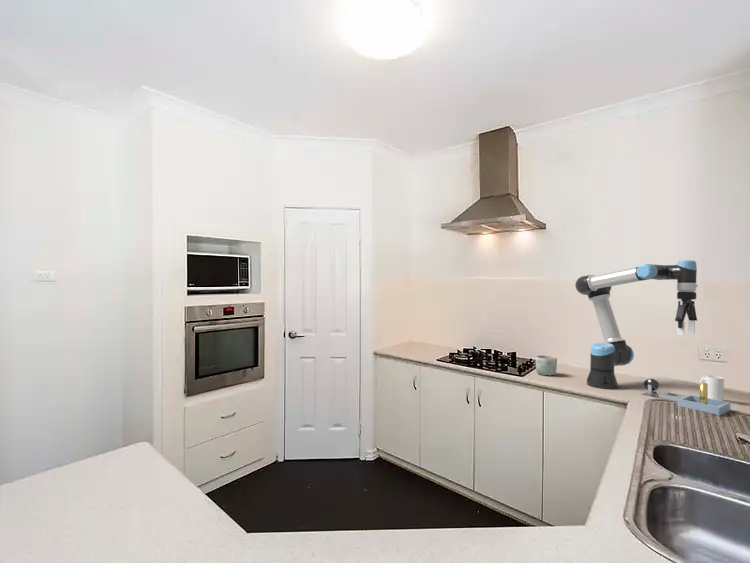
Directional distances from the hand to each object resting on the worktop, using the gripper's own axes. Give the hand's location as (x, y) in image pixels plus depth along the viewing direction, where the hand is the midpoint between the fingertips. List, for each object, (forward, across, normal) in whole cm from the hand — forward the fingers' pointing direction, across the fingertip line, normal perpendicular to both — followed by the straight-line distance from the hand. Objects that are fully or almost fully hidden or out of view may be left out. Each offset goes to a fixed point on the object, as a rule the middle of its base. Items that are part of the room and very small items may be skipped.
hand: (686, 334), depth 195 cm
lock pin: (+32, -10, -10) cm, 35 cm away
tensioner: (+33, -6, +7) cm, 34 cm away
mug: (+33, +11, -7) cm, 35 cm away
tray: (+33, -10, -10) cm, 36 cm away
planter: (+33, -10, +69) cm, 77 cm away
